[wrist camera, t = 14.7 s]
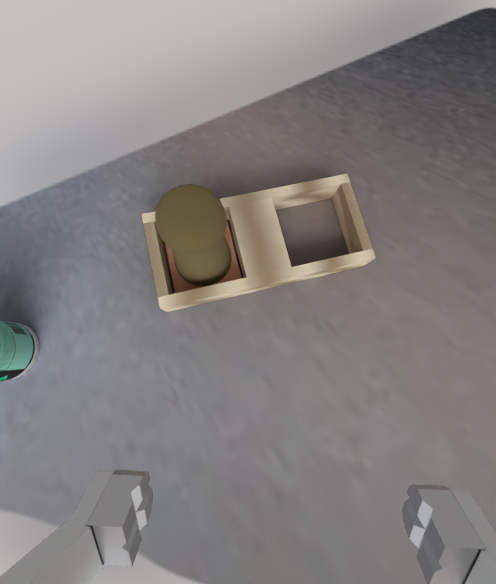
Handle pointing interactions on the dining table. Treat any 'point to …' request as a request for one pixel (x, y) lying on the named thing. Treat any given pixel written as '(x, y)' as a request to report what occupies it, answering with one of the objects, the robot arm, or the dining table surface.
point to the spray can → (16, 350)
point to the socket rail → (263, 244)
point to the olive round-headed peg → (195, 233)
